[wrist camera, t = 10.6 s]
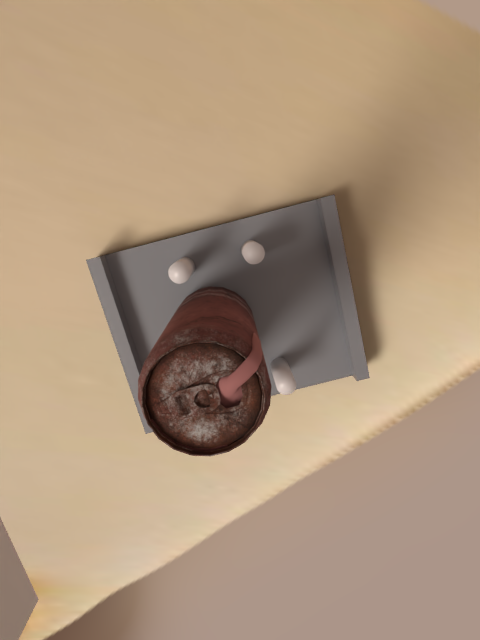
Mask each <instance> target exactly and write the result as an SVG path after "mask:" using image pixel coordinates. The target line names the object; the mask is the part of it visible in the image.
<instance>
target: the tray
mask: <svg viewBox="0 0 480 640" xmlns="http://www.w3.org/2000/svg"><path fill="white" fill-rule="evenodd" d="M86 261H87V264H88V267H89V270H90V273H91V276H92V279H93V282H94V285H95V288H96V290H97V293H98V296H99V299H100V302H101V305H102V308H103V311H104V314H105V317H106V320H107V322H108V325H109V328H110V331H111V334H112V337H113V340H114V343H115V346H116V349H117V352H118V354H119V357H120V360H121V363H122V366H123V369H124V372H125V375H126V378H127V381H128V383H129V386H130V389H131V392H132V395H133V398H134V401H135V404H136V407H137V410H138V413H139V415H140V418H141V421H142V424H143V427H144V430H145V433H146V434H147V433H151V432H153V431H152V429H151V428H150V427H149V426H148V424H147V421H146V419H145V418H144V415H143V412H142V409H141V406H140V403H139V401H138V378H139V376H140V373H141V370H142V367H143V365H144V362H145V360H146V358H147V356H148V355H149V353H150V352H151V350H152V348H153V347H154V345H155V344H156V342H157V340H158V339H159V337H160V336H161V334H162V332H163V331H164V329H165V328H166V326H167V324H168V323H169V321H170V320H171V318H172V316H173V315H174V313H175V312H176V310H177V308H178V307H179V306H180V304H181V303H182V302H183V301H184V299H185V298H186V297H187V296H188V295H190V294H192V293H193V292H195V291H196V290H198V289H202V288H206V287H210V286H211V287H224V288H226V289H229V290H231V291H234V292H236V293H237V294H238V295H239V296H241V297H242V298H243V299H244V300H245V301H246V302H247V304H248V305H249V307H250V309H251V310H252V313H253V317H254V321H255V325H256V328H257V332H258V336H259V339H260V341H261V347H262V351H263V355H264V359H265V362H266V366H267V370H268V374H269V378H270V382H271V386H272V387H271V396H272V395H276V394H280V393H281V394H284V395H288V394H291V393H293V392H294V391H295V390H296V389H300V388H304V387H308V386H312V385H316V384H320V383H324V382H328V381H332V380H336V379H340V378H344V377H348V376H353V377H354V378H355V379H356V380H357V381H359V380H363V379H367V378H370V377H369V372H368V367H367V362H366V357H365V351H364V346H363V341H362V336H361V331H360V326H359V320H358V315H357V310H356V305H355V300H354V294H353V289H352V284H351V279H350V274H349V268H348V263H347V258H346V253H345V248H344V242H343V237H342V232H341V227H340V222H339V216H338V211H337V206H336V201H335V196H334V195H331V196H327V197H323V198H319V199H316V200H312V201H308V202H305V203H301V204H297V205H293V206H289V207H286V208H282V209H278V210H274V211H270V212H267V213H263V214H259V215H255V216H252V217H248V218H244V219H240V220H236V221H233V222H229V223H225V224H221V225H217V226H214V227H210V228H206V229H202V230H199V231H195V232H191V233H187V234H183V235H180V236H176V237H172V238H168V239H164V240H161V241H157V242H153V243H149V244H146V245H142V246H138V247H134V248H130V249H127V250H123V251H119V252H115V253H111V254H108V255H104V256H100V257H96V258H92V259H88V260H86Z"/></svg>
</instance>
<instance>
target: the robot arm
mask: <svg viewBox="0 0 480 640" xmlns="http://www.w3.org/2000/svg"><path fill="white" fill-rule="evenodd" d="M37 601H38V597H37V595H36V593H35V591H34V589H33V586H32V584H31V582H30V580H29V578H28V576H27V574H26V572H25V569H24V567H23V565H22V563H21V561H20V559H19V557H18V554H17V552H16V550H15V548H14V546H13V544H12V542H11V539H10V537H9V535H8V533H7V531H6V529H5V527H4V525H3V522H2V520H1V518H0V640H18V639H19V637H20V635H21V633H22V631H23V629H24V627H25V625H26V623H27V621H28V619H29V617H30V615H31V613H32V611H33V609H34V607H35V605H36V603H37Z"/></svg>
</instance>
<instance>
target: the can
mask: <svg viewBox="0 0 480 640" xmlns="http://www.w3.org/2000/svg"><path fill="white" fill-rule="evenodd" d="M271 387H272V386H271V382H270V378H269V374H268V370H267V366H266V362H265V359H264V355H263V351H262V347H261V341H260V339H259V336H258V332H257V328H256V325H255V321H254V317H253V313H252V310H251V309H250V307H249V305H248V304H247V302H246V301H245V300H244V299H243V298H242V297H241V296H239V295H238V294H237V293H236V292H234V291H231V290H229V289H226V288H224V287H211V286H210V287H206V288H202V289H198V290H196V291H195V292H193V293H192V294H190V295H188V296H187V297H186V298H185V299H184V301H183V302H182V303H181V304H180V306H179V307H178V308H177V310H176V312H175V313H174V315H173V316H172V318H171V320H170V321H169V323H168V324H167V326H166V328H165V329H164V331H163V332H162V334H161V336H160V337H159V339H158V340H157V342H156V344H155V345H154V347H153V348H152V350H151V352H150V353H149V355H148V356H147V358H146V360H145V362H144V365H143V367H142V370H141V373H140V376H139V378H138V401H139V403H140V406H141V409H142V412H143V415H144V418H145V419H146V421H147V424H148V426H149V427H150V428H151V429H152V431H153V432H154V433H155V435H156V436H157V437H158V439H160V440H161V441H162V442H164V443H165V444H167V445H168V446H170V447H171V448H172V449H174V450H177V451H180V452H183V453H186V454H189V455H192V456H214V455H218V454H222V453H226V452H229V451H231V450H233V449H234V448H236V447H238V446H240V445H241V444H243V443H245V442H246V440H247V439H248V438H249V437H250V436H251V435H252V434H253V433H254V432H255V431H256V429H257V428H258V427H259V426H260V425H261V424H262V422H263V420H264V418H265V415H266V413H267V411H268V409H269V406H270V398H271Z"/></svg>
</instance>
